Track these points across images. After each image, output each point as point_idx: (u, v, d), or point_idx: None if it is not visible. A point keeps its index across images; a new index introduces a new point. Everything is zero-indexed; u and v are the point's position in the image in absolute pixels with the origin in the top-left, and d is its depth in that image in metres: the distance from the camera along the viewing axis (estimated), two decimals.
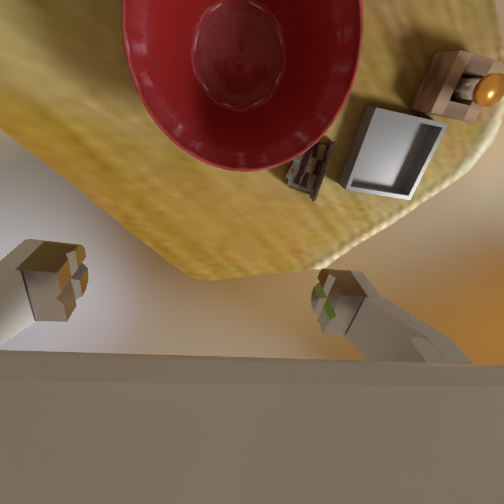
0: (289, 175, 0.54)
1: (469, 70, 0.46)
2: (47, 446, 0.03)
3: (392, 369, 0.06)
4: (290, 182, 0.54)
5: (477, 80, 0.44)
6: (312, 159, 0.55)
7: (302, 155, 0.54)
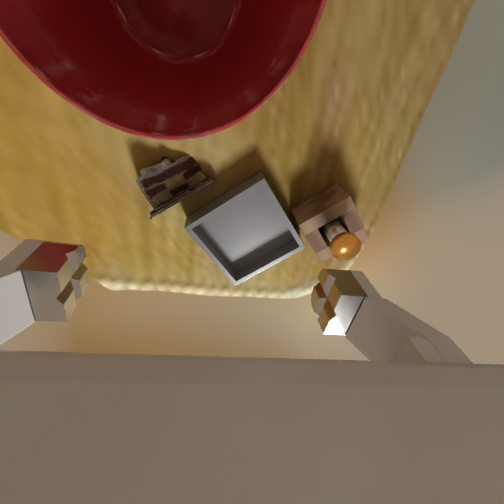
0: (143, 171, 0.41)
1: (345, 218, 0.46)
2: (47, 446, 0.03)
3: (392, 369, 0.06)
4: (138, 178, 0.41)
5: (343, 231, 0.44)
6: (181, 177, 0.43)
7: (174, 164, 0.42)
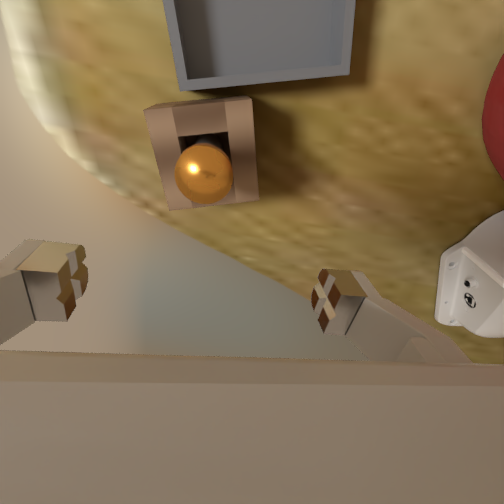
0: None
1: None
2: (47, 446, 0.03)
3: (392, 369, 0.06)
4: None
5: None
6: None
7: None
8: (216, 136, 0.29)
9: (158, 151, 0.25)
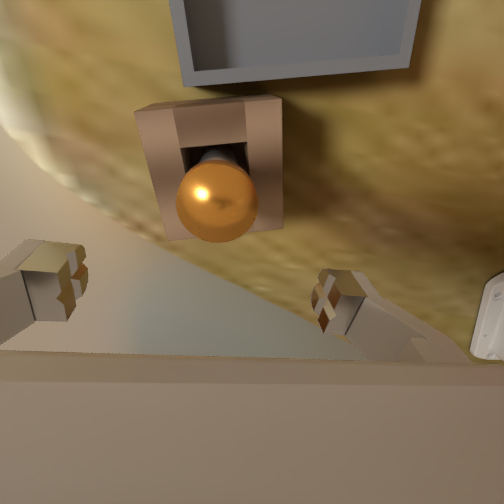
0: None
1: None
2: (47, 446, 0.03)
3: (392, 369, 0.06)
4: None
5: None
6: None
7: None
8: (229, 145, 0.23)
9: (154, 166, 0.19)
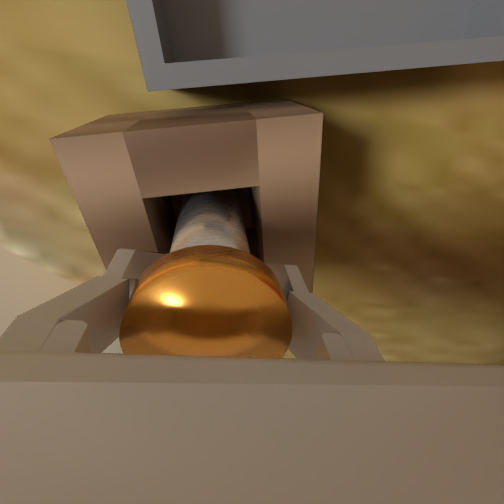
0: None
1: None
2: (47, 446, 0.03)
3: (391, 369, 0.06)
4: None
5: None
6: None
7: None
8: None
9: (100, 228, 0.11)
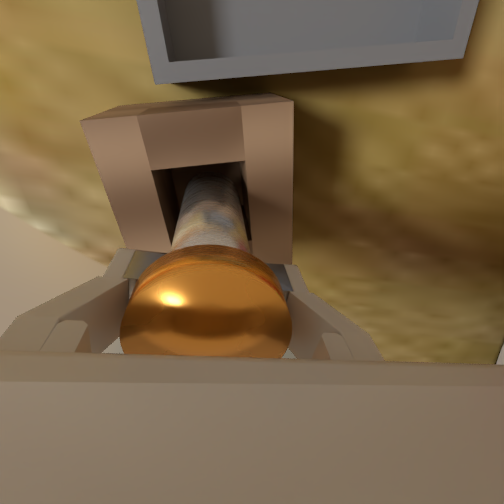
0: None
1: None
2: (47, 446, 0.03)
3: (391, 369, 0.06)
4: None
5: None
6: None
7: None
8: (227, 178, 0.15)
9: (116, 195, 0.13)
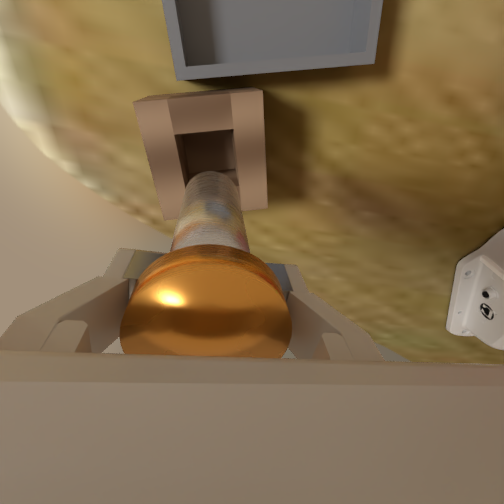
0: None
1: None
2: (47, 446, 0.03)
3: (391, 369, 0.06)
4: None
5: None
6: None
7: None
8: (227, 178, 0.15)
9: (151, 151, 0.21)
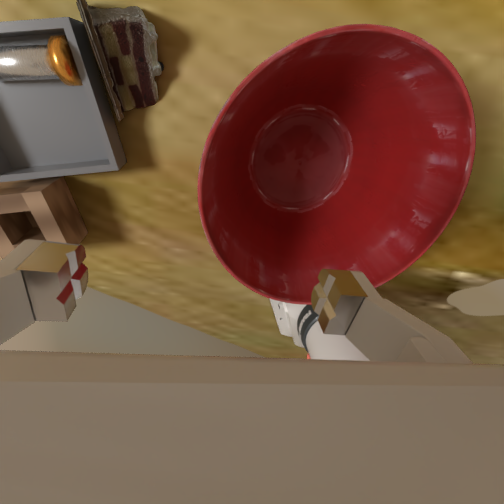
0: (153, 34, 0.29)
1: None
2: (47, 446, 0.03)
3: (392, 369, 0.06)
4: (144, 21, 0.28)
5: (44, 70, 0.29)
6: (132, 80, 0.32)
7: (151, 80, 0.33)
8: None
9: None
